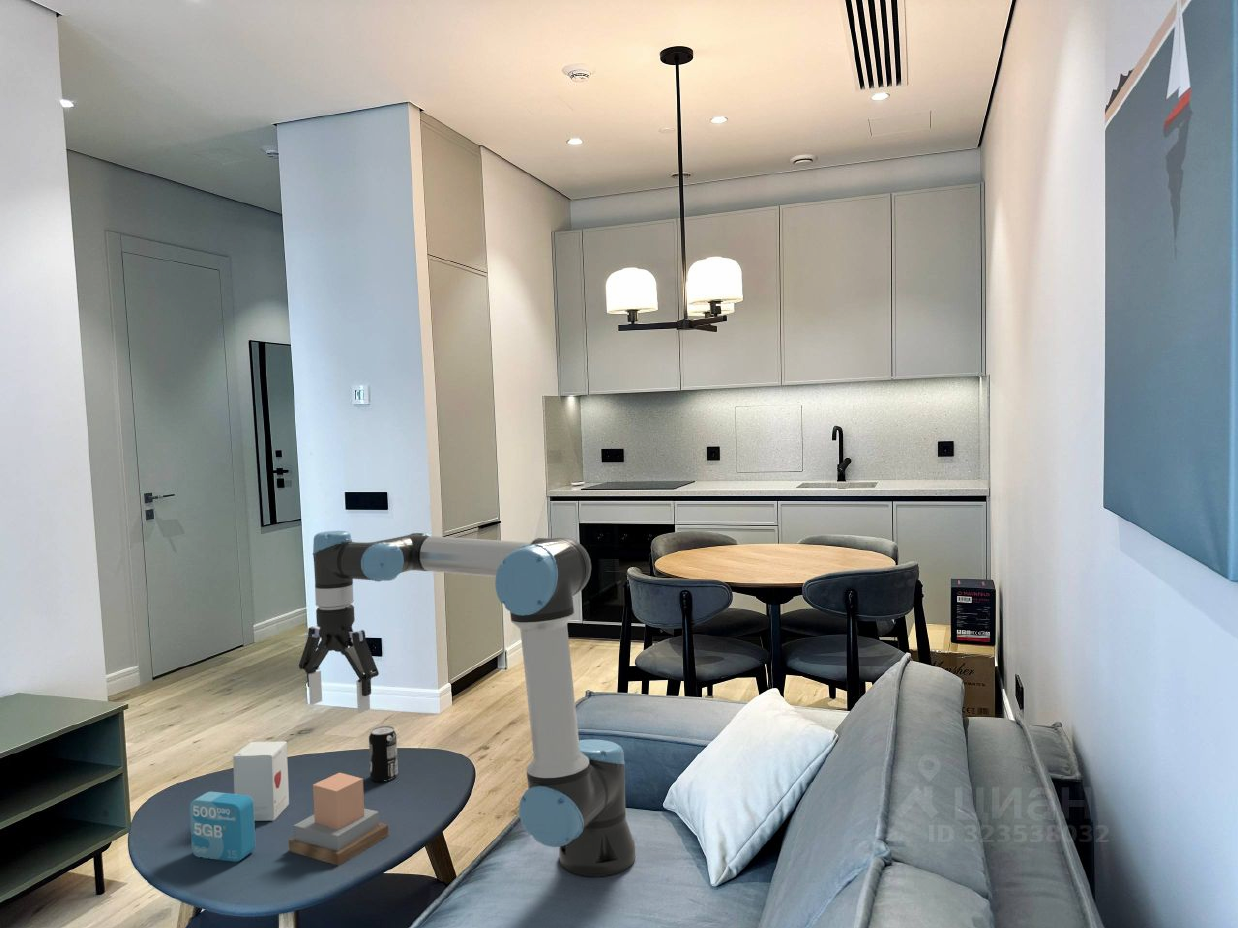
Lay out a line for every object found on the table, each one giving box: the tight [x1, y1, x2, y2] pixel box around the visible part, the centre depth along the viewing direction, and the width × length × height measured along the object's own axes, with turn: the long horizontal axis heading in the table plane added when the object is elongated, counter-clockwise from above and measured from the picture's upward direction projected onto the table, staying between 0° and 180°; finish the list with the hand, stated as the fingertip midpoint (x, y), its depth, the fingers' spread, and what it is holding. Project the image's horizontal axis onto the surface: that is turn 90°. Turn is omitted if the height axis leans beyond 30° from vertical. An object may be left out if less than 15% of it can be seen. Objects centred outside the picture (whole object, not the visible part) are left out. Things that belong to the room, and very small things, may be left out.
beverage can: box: [368, 725, 399, 782], centre depth 217 cm, size 7×7×12 cm
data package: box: [189, 791, 256, 863], centre depth 179 cm, size 12×4×12 cm, turn 75°
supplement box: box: [232, 741, 290, 822], centre depth 199 cm, size 9×9×15 cm
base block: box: [288, 822, 389, 867], centre depth 183 cm, size 14×14×3 cm
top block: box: [293, 807, 380, 851], centre depth 183 cm, size 12×12×3 cm
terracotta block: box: [312, 772, 365, 830], centre depth 182 cm, size 7×7×8 cm
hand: (339, 706), depth 183 cm, fingers open, 13 cm apart
